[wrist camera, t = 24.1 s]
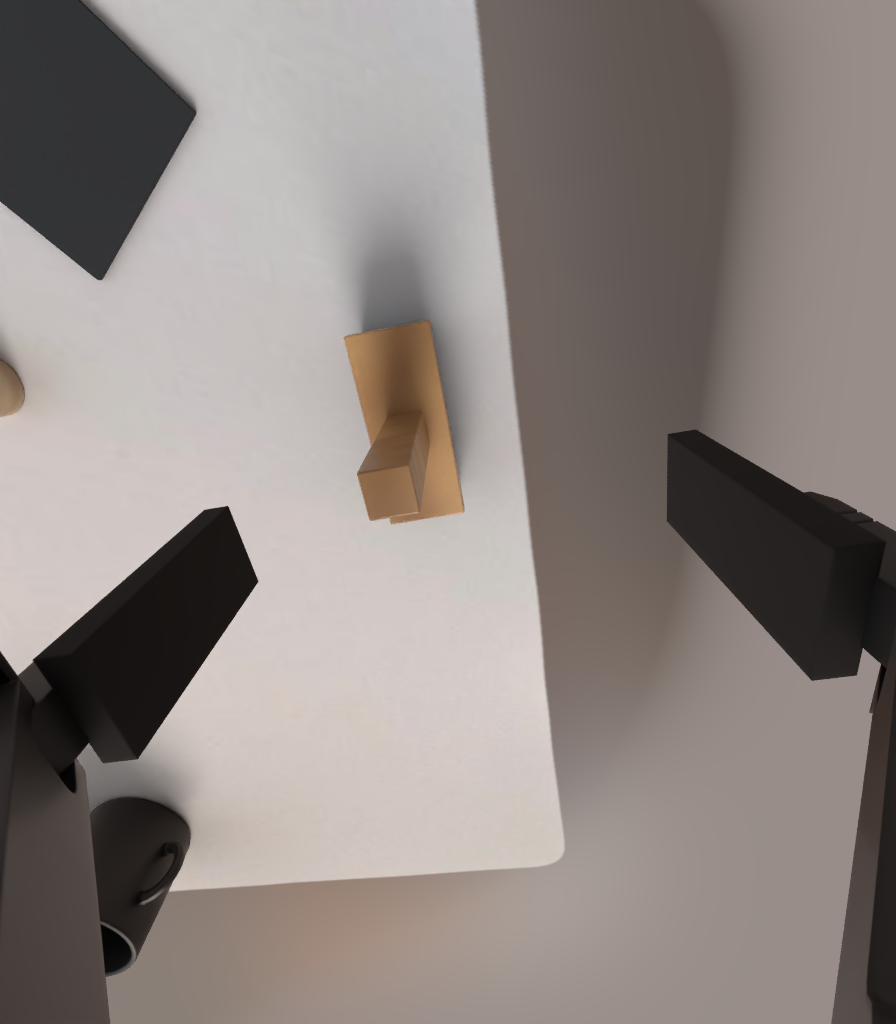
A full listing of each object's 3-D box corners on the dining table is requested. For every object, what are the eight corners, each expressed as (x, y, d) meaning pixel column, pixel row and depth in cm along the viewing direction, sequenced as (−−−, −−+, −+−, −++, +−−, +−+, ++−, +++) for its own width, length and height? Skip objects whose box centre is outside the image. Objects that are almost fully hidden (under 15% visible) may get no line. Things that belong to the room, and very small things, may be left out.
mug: (234, 840, 46) (187, 958, 38) (131, 869, 48) (66, 987, 40) (176, 777, 43) (110, 892, 35) (67, 811, 45) (-19, 928, 36)
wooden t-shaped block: (432, 317, 27) (418, 333, 16) (463, 489, 32) (470, 602, 20) (356, 331, 28) (288, 358, 16) (397, 500, 32) (366, 617, 20)
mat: (-7, -84, 21) (-15, -90, 20) (197, 113, 24) (193, 110, 23) (-87, 128, 24) (-95, 125, 24) (102, 280, 27) (97, 280, 26)
